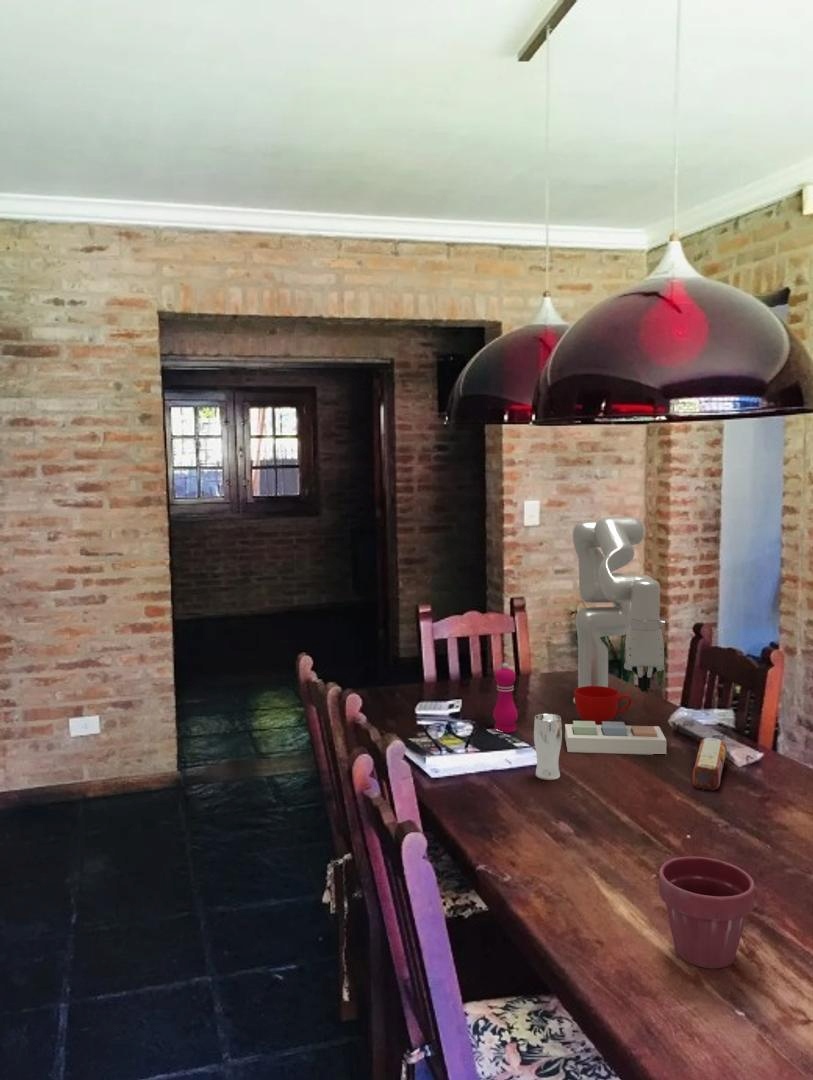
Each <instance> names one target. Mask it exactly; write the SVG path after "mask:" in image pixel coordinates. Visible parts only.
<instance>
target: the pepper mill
mask: <svg viewBox="0 0 813 1080" xmlns="http://www.w3.org/2000/svg"><path fill="white" fill-rule="evenodd" d="M501 667H502V668H500V669H498V670H497V671H496V672H495V675H494V680H495V682H496V683H497V684H496V690H497V692H498V693H497V694H498V695H497V696H498V697H497V701H496V705H495V706H494V709H493V713H492V714H493V716H492V717H493V719H494V720H495V723H494V730H495V729H498V730H500V731H503V732H505V733H504V734H509V733H510V734H512V733H515V732H516V731H517V723H515V722H516V721H517V720H518V717H519V715H518V714H519V713H518V710H517V707H516V705H515V702H514V698H513V691H514V687H515V684H514V683H515V681H516V679H517V677H516V674H515V671H514V670H513V669H511V668H509V664H508V663H505V662H503V664H501Z"/></svg>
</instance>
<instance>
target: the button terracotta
mask: <svg viewBox="0 0 813 1080" xmlns="http://www.w3.org/2000/svg"><path fill="white" fill-rule="evenodd" d="M630 726H631V732H632V735H633V736H642V737H657V732H656V730H655V728H654V727H653V725H651V726H650V725H649V726H648V725H630Z"/></svg>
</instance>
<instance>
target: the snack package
mask: <svg viewBox="0 0 813 1080" xmlns="http://www.w3.org/2000/svg"><path fill="white" fill-rule="evenodd" d="M698 748H699V749H698V752H697V756H696V759H695V764H694V767H693V771H692V782H693V783H692V784H693V786H694V788H696V787H697V788H696V789H698V788H703V789H702V790H704V789H712V790H711V791H715V789H716V790H717V789H718V788H719V787H720V785H721V777H722V773H723V768H724V763H725V760H726V757H727V752H726V751H727V745H726V742H724V741H723V740H721V739H720V738H719V739H718V738H714V737H706V738H703V739H702V740H701V741H700V743H699V747H698Z"/></svg>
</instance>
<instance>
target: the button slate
mask: <svg viewBox="0 0 813 1080" xmlns="http://www.w3.org/2000/svg"><path fill="white" fill-rule="evenodd" d="M626 726H627V725H626V724H625V721H611V722H607V721H602V732H603V735H604V736H627V728H626Z"/></svg>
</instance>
